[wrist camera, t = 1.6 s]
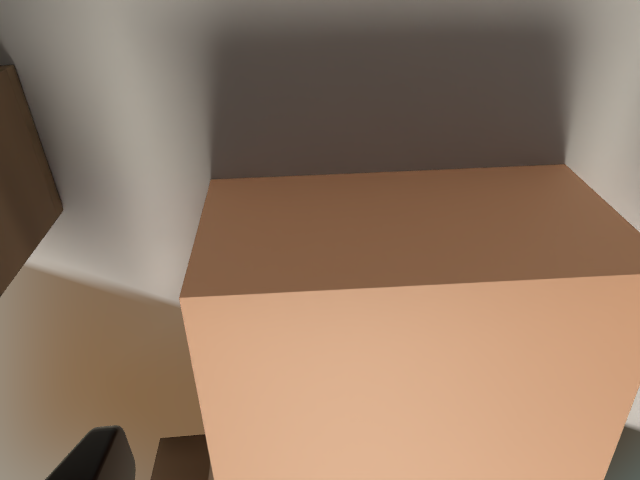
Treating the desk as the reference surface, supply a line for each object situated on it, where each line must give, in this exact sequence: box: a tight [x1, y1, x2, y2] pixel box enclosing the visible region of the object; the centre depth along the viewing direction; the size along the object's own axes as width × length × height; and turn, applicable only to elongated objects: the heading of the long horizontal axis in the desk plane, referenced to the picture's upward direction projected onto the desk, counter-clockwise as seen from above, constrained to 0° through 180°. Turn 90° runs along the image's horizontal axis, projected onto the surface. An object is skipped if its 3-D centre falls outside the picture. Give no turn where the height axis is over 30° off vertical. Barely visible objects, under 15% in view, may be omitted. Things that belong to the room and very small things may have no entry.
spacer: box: [179, 164, 640, 480], centre depth 10 cm, size 6×6×4 cm
